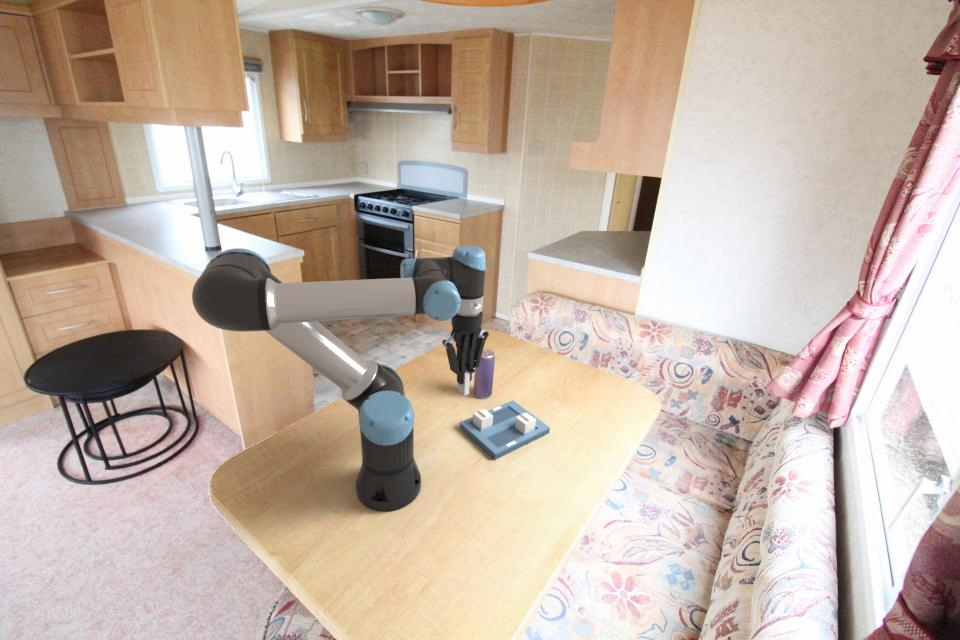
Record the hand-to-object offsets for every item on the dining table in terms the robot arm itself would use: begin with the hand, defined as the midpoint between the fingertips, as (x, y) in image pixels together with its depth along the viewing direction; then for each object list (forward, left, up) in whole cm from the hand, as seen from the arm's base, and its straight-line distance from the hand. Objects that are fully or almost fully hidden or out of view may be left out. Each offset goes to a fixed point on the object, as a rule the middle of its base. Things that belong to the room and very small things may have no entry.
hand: (463, 392), depth 122 cm
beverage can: (+18, +14, -15) cm, 28 cm away
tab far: (+7, 0, -14) cm, 15 cm away
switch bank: (+12, -4, -15) cm, 20 cm away
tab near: (+16, -8, -14) cm, 23 cm away
